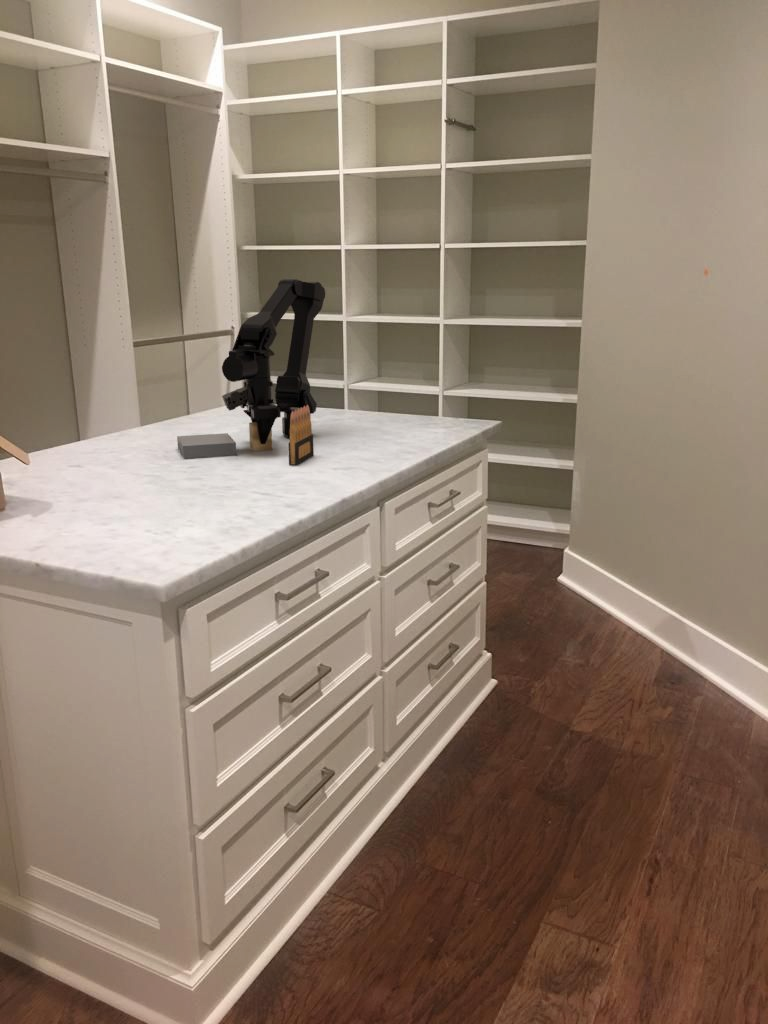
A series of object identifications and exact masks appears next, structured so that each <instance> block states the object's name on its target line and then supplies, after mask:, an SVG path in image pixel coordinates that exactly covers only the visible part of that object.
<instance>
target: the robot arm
mask: <svg viewBox="0 0 768 1024" xmlns="http://www.w3.org/2000/svg"><path fill="white" fill-rule="evenodd" d="M325 298H326V289H325V288H324V286H323V285H322V283H321V282H319V281H303V280H299V279H297V278H283V279H280V280H279V282H278V284H277V287H276V289H275V290H274V292H273V293H272V294H271V296H270V298H269V299H268V300H267V301H266V303H265V304H264V305H263V306H262V308H261V310H260V311H259V312H257V314H256V313H255V314H254V315H252V316H250V317H248V318H247V319H246V320H245V321H244V322H243V323H242V324H241V326H240V328H239V330H238V333H237V336H236V338H235V341H234V344H233V347H232V349H231V350H229V351H228V356H227V357H226V358H225V359H224V360H223V362H222V365H221V371H222V374H223V376H224V377H225V379H227V381H229V382H232V383H235V382H240V381H243V387H240V388H236V389H234V390H233V391H230V392H227V393H226V394H223V395H221V397H222V400H223V402H224V404H225V406H226V409H227V410H228V411H233V410H235V409H237V408H239V407H240V408H241V409H244V410H242V411H243V412H244V413H245V414H246V416H248V417H249V418H250V421H251V422H256V424H257V429H258V434H259V439H260V443H261V444H265V443H266V441H267V438H268V436H269V433H270V431H271V429H272V428H273V426H274V424H275V422H276V419H278V418H281V415H282V414H281V413H283V417H282V418H281V424H282V425H281V427H282V429H281V430H282V435H284V436H285V437H286V438H287V439H290V418H291V413H292V411H293V412H295V410H298V408H299V409H301V407H302V408H303V407H304V406H305V407H306V406H307V405H308V406H309V410H310V415H311V414H315V413H316V411H317V402H316V401H315V399H314V398H313V395H312V394H311V385H310V384H311V383H310V382H309V379H308V376H307V368H308V361H309V353H310V348H311V340H312V333H313V328H314V327H313V326H314V321H315V318H316V317H317V316H318V315H319V313H320V312H321V310H322V309H323V306H324V301H325ZM290 307H291V309H292V311H293V314H294V315H293V317H294V318H293V323H292V330H291V338H290V344H289V345H290V346H289V351H288V356H287V358H288V359H287V363H286V365H287V366H286V371H284V373H283V374H282V375H278V376H277V378H276V386H275V390H274V392H275V394H274V398H275V403H276V404H275V403H274V399H273V398H272V387H273V385H274V383H273V381H272V380H271V357H273V356H275V352H274V351H273V350H272V349H271V348H270V347H272V345H273V343H274V341H275V339H276V337H277V335H278V332H277V326H278V324H279V322H280V321H281V320H282V318H283V317H284V315H285V314H286V313H287V311H288V310H289V308H290ZM245 408H246V409H245Z"/></svg>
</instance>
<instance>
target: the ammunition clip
mask: <svg viewBox="0 0 768 1024" xmlns="http://www.w3.org/2000/svg"><path fill="white" fill-rule="evenodd" d="M311 418H312V417H311V414H310V410H309V406H308V405H307V406H306V407H305V406H304V407H303V408H302V407H301V409H299V408H298V410H295V412H293V411H292V413H291V418H290V438H289V442H288V465H289V466H294V467H296V466H300V465H301V464H302V463H305V462H306V461H307V460H309V459H311V458H313V457H314V456H315V455H314V434H313V433H312V431H313V430H312V421H311Z"/></svg>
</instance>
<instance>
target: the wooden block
mask: <svg viewBox="0 0 768 1024" xmlns="http://www.w3.org/2000/svg"><path fill="white" fill-rule="evenodd" d="M248 426H249V427H248V428H249V430H248V432H249V433H248V434H249V448H250V449H251V450H252V451H253V450H254V451H267V450H268V451H269V450H270V451H271V450H273V434H272V433H273V431H272V429H271V431H270V433H269V436H268V438H267V441H266V443H265V444H261V443H260V439H259V434H258V429H257V424H256V422H252V421H251V422H248ZM254 451H253V452H254Z"/></svg>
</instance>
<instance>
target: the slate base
mask: <svg viewBox="0 0 768 1024" xmlns="http://www.w3.org/2000/svg"><path fill="white" fill-rule="evenodd" d="M176 439H177V440H176V441H177V449H178V451H179V453H180V454H181V455H180V456H181V457H182V458H183V460H189V459H190V460H192V459H202V458H218V457H219V458H220V457H230V456H231V457H233V455H234V456H237V442H236V441H235V439H233V438H232V436H230V434H229V433H228V432H227V433H226V432H225V433H222V432H221V433H212V434H209V433H208V434H207V433H206V434H194V435H193V434H192V435H178V436H176Z"/></svg>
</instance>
